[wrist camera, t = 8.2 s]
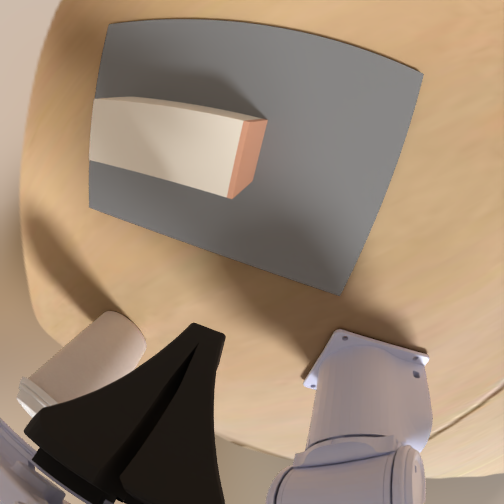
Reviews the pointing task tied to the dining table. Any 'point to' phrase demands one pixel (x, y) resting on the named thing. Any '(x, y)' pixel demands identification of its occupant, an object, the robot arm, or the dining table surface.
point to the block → (178, 142)
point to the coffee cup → (85, 363)
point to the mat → (265, 141)
